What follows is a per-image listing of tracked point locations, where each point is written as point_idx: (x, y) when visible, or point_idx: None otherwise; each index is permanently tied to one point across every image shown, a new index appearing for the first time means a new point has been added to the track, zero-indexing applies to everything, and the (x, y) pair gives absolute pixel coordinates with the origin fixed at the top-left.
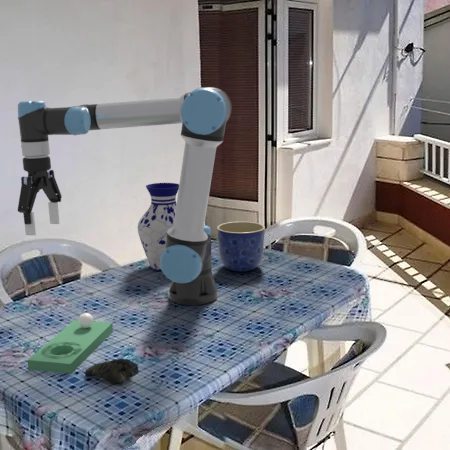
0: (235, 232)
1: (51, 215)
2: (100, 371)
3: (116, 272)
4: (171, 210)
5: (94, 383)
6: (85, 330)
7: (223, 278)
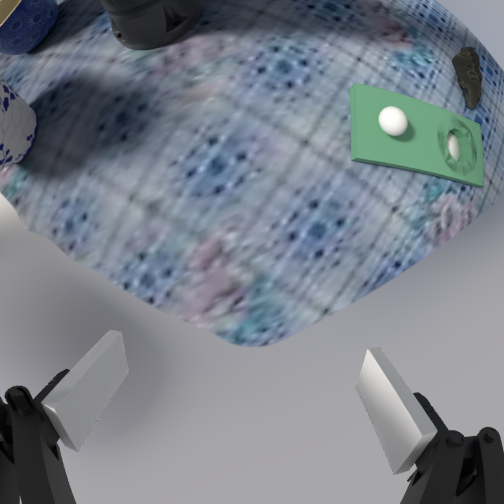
0: None
1: (107, 390)
2: (480, 87)
3: (43, 212)
4: None
5: None
6: None
7: (75, 24)
